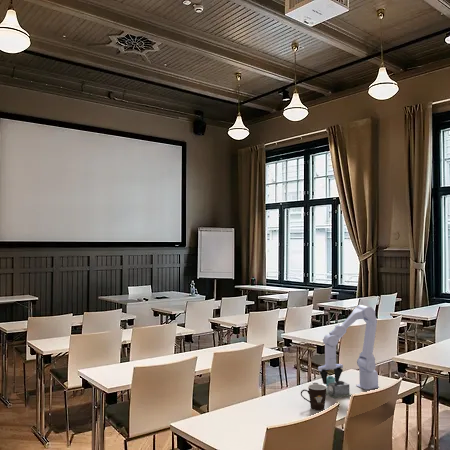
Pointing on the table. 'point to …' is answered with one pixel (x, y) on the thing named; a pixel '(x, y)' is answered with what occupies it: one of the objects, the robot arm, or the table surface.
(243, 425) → the table surface
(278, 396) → the table surface
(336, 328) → the robot arm
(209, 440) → the table surface
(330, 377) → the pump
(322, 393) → the coffee mug
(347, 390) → the motor
